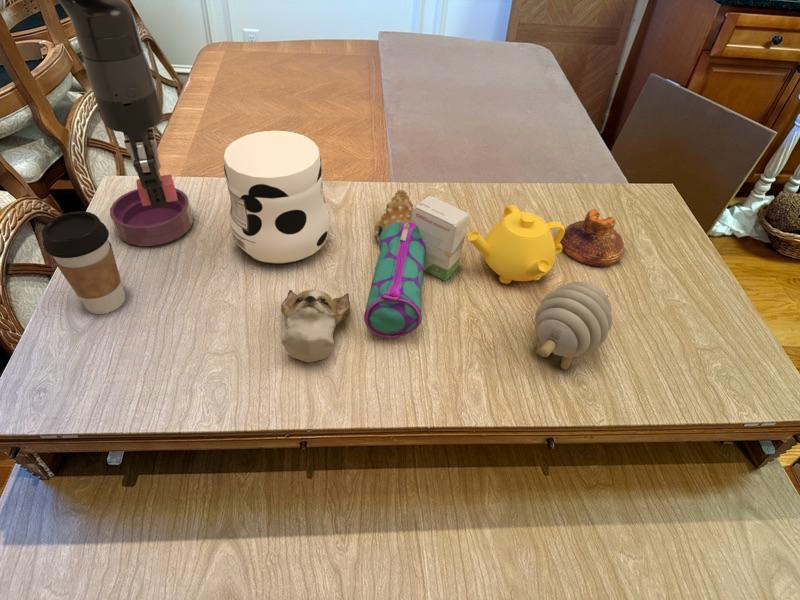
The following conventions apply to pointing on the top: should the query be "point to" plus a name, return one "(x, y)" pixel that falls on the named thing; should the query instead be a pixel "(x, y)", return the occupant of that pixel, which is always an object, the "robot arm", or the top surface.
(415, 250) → the pencil case
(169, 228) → the bowl
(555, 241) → the teapot
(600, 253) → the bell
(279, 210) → the milk container
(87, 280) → the coffee cup
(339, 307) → the ceramic sculpture
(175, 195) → the eraser
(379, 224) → the seashell
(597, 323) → the toy sheep
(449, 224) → the ink box
